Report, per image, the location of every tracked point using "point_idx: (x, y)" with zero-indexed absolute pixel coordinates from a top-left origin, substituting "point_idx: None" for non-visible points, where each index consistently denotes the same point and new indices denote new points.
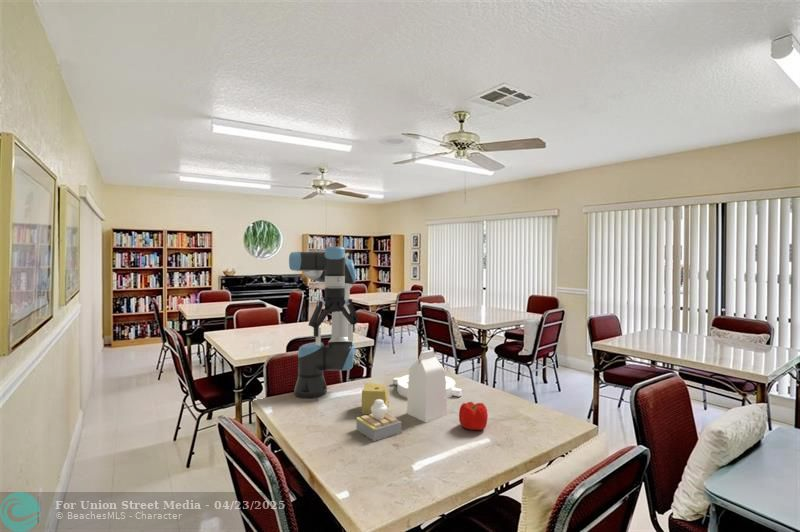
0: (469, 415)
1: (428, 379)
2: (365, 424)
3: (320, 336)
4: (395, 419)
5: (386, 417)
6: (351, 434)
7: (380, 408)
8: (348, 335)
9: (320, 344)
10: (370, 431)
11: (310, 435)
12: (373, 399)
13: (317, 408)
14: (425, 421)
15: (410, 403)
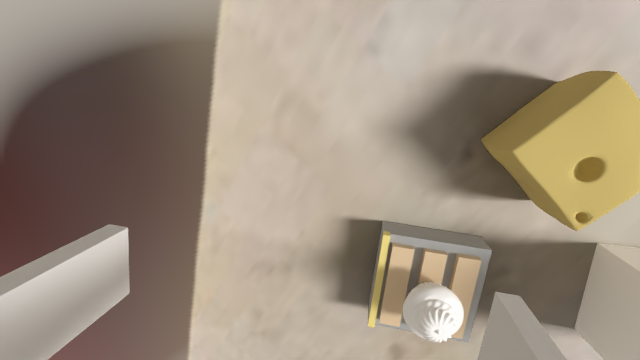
0: None
1: None
2: (374, 283)
3: (49, 354)
4: (456, 337)
5: None
6: (352, 234)
7: (420, 336)
8: (515, 345)
9: (119, 300)
10: (370, 302)
11: (263, 160)
12: (528, 182)
13: None
14: (575, 329)
15: (621, 279)
